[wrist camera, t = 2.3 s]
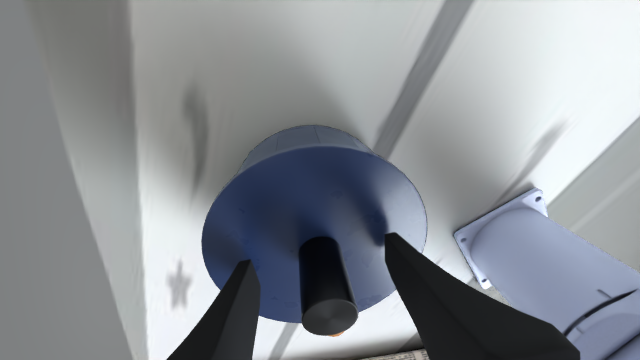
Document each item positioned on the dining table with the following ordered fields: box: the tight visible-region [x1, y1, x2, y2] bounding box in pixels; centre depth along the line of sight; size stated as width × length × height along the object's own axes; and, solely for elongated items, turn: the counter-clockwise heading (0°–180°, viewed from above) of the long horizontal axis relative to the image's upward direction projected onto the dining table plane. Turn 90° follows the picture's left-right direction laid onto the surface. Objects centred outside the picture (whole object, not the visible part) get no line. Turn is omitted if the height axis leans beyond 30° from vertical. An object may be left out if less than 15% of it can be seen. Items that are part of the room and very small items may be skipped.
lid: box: [201, 143, 427, 336], centre depth 12 cm, size 12×12×5 cm
